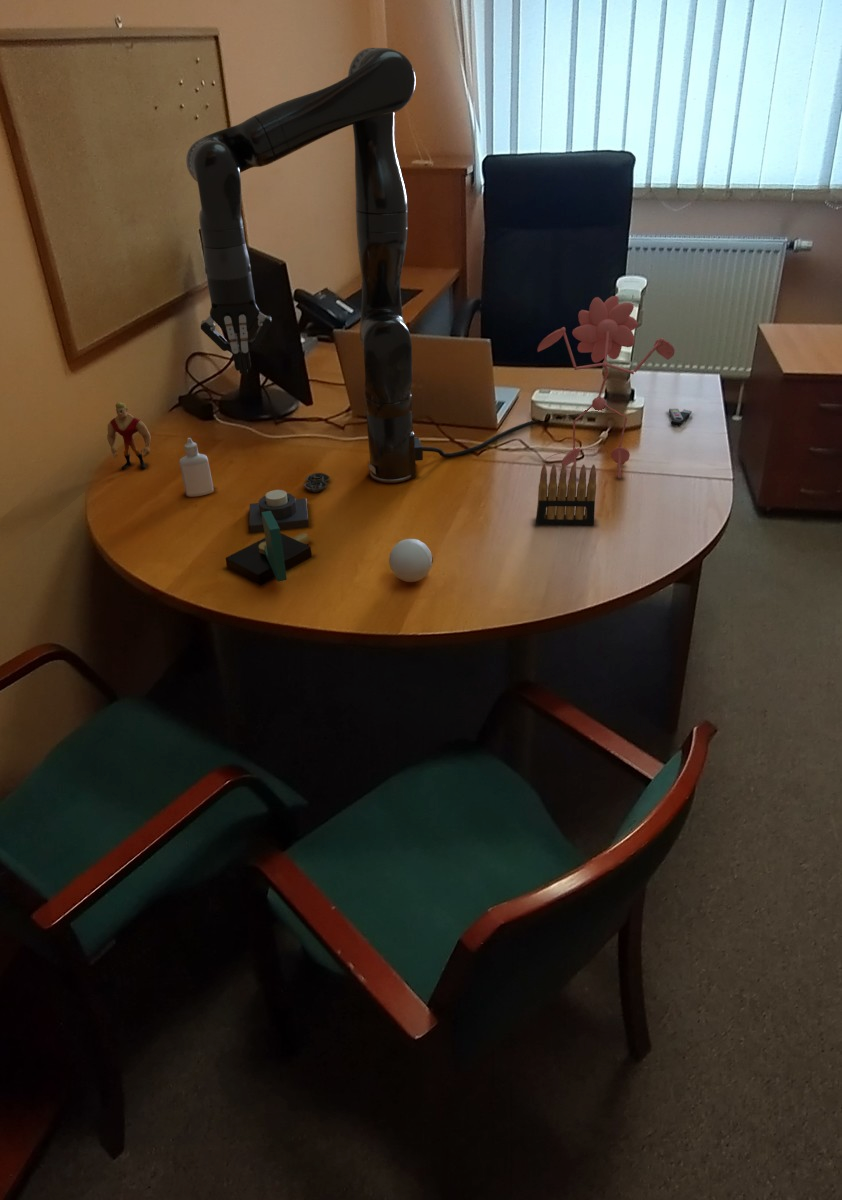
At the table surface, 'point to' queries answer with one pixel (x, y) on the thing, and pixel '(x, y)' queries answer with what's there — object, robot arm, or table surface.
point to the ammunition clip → (566, 498)
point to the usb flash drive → (679, 416)
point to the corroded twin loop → (316, 482)
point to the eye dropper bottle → (195, 471)
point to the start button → (276, 498)
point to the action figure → (128, 434)
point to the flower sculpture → (604, 353)
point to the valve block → (257, 564)
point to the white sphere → (410, 560)
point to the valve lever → (273, 546)
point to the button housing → (280, 514)
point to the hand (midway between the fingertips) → (243, 371)
